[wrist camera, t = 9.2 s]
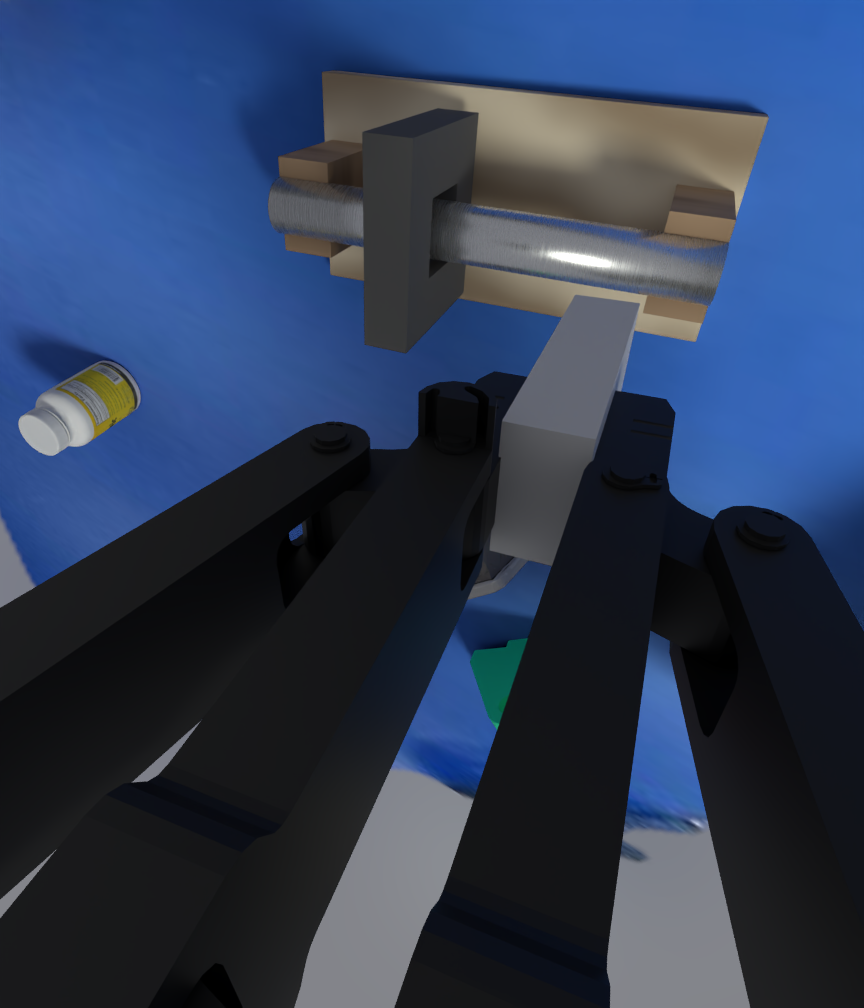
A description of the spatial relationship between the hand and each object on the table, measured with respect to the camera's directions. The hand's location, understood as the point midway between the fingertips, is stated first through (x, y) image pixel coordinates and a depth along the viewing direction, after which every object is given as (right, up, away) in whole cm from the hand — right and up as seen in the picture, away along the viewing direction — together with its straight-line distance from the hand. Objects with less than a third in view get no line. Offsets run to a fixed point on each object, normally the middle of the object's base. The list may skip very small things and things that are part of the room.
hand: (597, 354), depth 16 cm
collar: (-3, +14, +23) cm, 27 cm away
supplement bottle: (-34, +8, +46) cm, 58 cm away
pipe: (-1, +11, +20) cm, 23 cm away
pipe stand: (+1, +15, +24) cm, 29 cm away
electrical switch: (0, -6, +41) cm, 42 cm away
